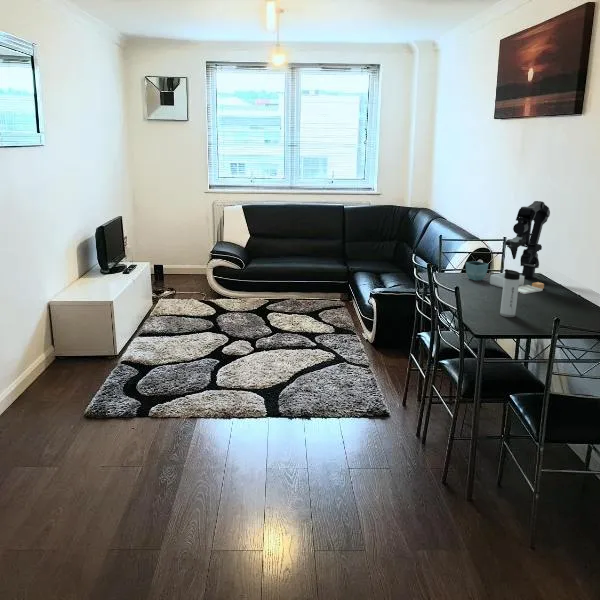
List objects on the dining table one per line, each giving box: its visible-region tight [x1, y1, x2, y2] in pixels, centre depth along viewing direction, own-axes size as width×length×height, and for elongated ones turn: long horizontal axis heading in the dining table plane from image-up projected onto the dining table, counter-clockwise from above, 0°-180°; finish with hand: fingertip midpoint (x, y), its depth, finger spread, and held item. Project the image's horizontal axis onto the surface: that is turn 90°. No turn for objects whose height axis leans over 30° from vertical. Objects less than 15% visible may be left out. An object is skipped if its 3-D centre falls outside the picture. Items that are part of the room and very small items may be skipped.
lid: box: [518, 281, 545, 295], centre depth 312 cm, size 18×10×2 cm, turn 121°
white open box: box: [489, 272, 525, 289], centre depth 320 cm, size 14×10×5 cm
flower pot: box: [465, 260, 489, 281], centre depth 329 cm, size 9×9×9 cm
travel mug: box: [499, 269, 521, 318], centre depth 265 cm, size 6×7×20 cm
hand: (521, 260), depth 322 cm, fingers open, 9 cm apart
